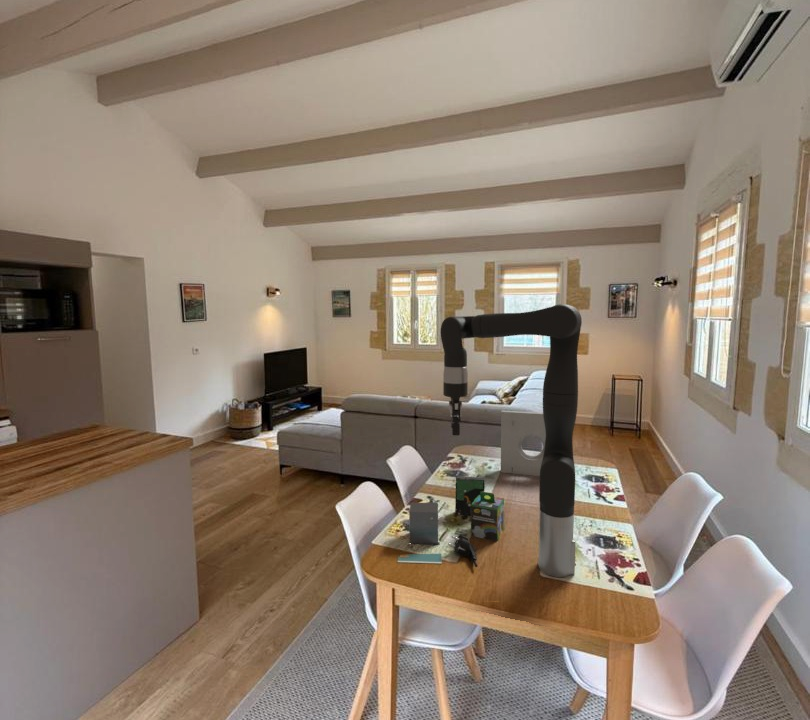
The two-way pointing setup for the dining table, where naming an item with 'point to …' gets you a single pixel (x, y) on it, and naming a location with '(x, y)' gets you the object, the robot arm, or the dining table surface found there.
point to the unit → (423, 523)
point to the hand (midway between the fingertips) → (455, 431)
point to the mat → (421, 558)
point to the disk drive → (467, 493)
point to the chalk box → (487, 516)
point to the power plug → (464, 548)
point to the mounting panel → (512, 435)
